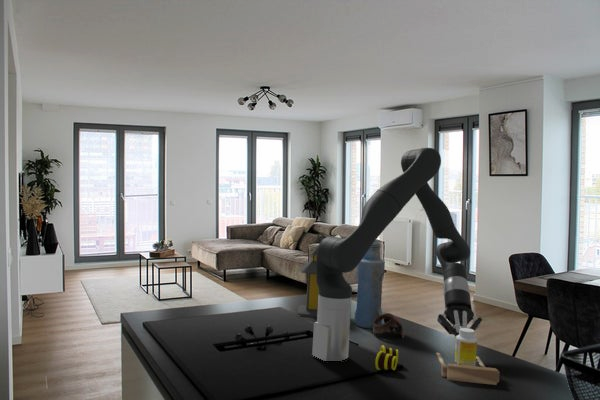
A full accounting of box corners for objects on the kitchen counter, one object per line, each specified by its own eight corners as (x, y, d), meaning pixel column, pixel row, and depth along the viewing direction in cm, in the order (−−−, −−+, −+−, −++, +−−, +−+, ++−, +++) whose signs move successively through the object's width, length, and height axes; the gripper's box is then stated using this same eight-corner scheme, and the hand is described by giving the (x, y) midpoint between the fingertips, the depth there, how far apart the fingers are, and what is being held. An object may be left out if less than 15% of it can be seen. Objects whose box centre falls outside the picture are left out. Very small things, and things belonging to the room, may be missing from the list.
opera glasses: (395, 375, 131) (396, 355, 131) (374, 372, 132) (375, 353, 132) (398, 363, 140) (399, 345, 140) (379, 360, 142) (380, 342, 141)
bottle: (378, 330, 172) (383, 241, 172) (350, 326, 176) (354, 239, 176) (385, 324, 181) (389, 239, 181) (358, 320, 185) (362, 237, 184)
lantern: (336, 318, 186) (340, 236, 185) (297, 316, 186) (302, 234, 185) (334, 309, 200) (338, 233, 199) (298, 307, 200) (302, 231, 199)
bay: (432, 353, 151) (433, 341, 151) (481, 357, 149) (482, 345, 149) (443, 379, 129) (444, 365, 129) (501, 385, 127) (501, 371, 127)
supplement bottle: (479, 369, 138) (482, 332, 138) (463, 371, 136) (466, 333, 136) (465, 362, 144) (467, 326, 143) (449, 364, 141) (452, 327, 141)
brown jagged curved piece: (407, 343, 161) (396, 321, 160) (379, 352, 164) (368, 331, 162) (404, 324, 173) (395, 303, 171) (379, 333, 175) (369, 312, 174)
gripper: (436, 286, 153) (440, 338, 141) (482, 289, 151) (489, 343, 139) (432, 300, 158) (436, 351, 147) (476, 303, 157) (483, 355, 145)
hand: (462, 347), depth 143 cm, fingers closed
